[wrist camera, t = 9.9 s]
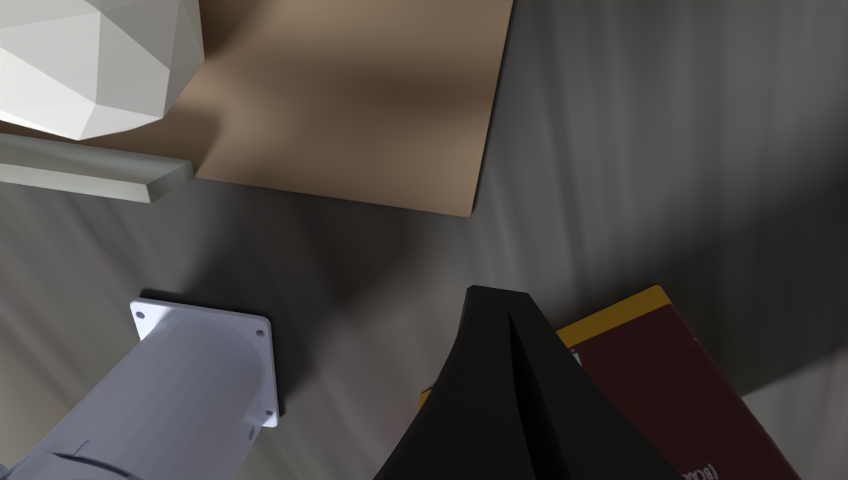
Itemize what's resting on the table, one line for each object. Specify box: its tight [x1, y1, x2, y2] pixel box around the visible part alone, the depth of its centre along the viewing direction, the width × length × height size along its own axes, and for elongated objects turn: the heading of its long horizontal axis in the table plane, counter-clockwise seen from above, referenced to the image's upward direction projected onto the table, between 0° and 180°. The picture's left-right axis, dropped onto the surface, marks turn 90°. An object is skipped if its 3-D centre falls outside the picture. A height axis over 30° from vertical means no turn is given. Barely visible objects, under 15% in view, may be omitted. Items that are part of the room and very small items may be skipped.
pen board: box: [0, 0, 513, 218], centre depth 14 cm, size 13×26×3 cm, turn 83°
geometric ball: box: [0, 0, 205, 140], centre depth 12 cm, size 8×8×8 cm
